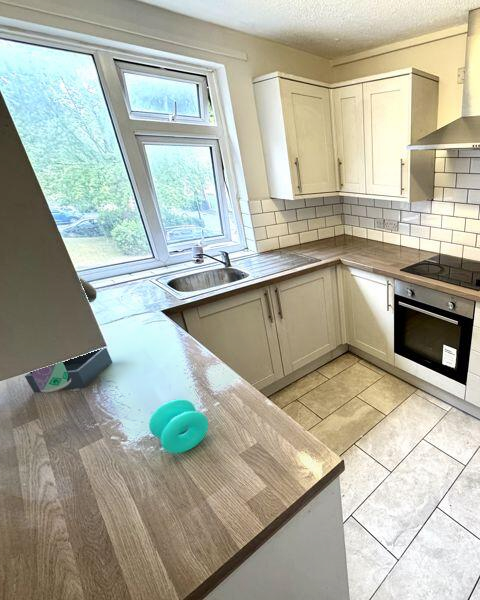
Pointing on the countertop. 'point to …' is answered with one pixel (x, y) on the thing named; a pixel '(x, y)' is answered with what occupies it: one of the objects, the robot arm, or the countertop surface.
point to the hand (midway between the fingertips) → (30, 348)
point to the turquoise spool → (178, 425)
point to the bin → (80, 369)
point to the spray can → (51, 377)
